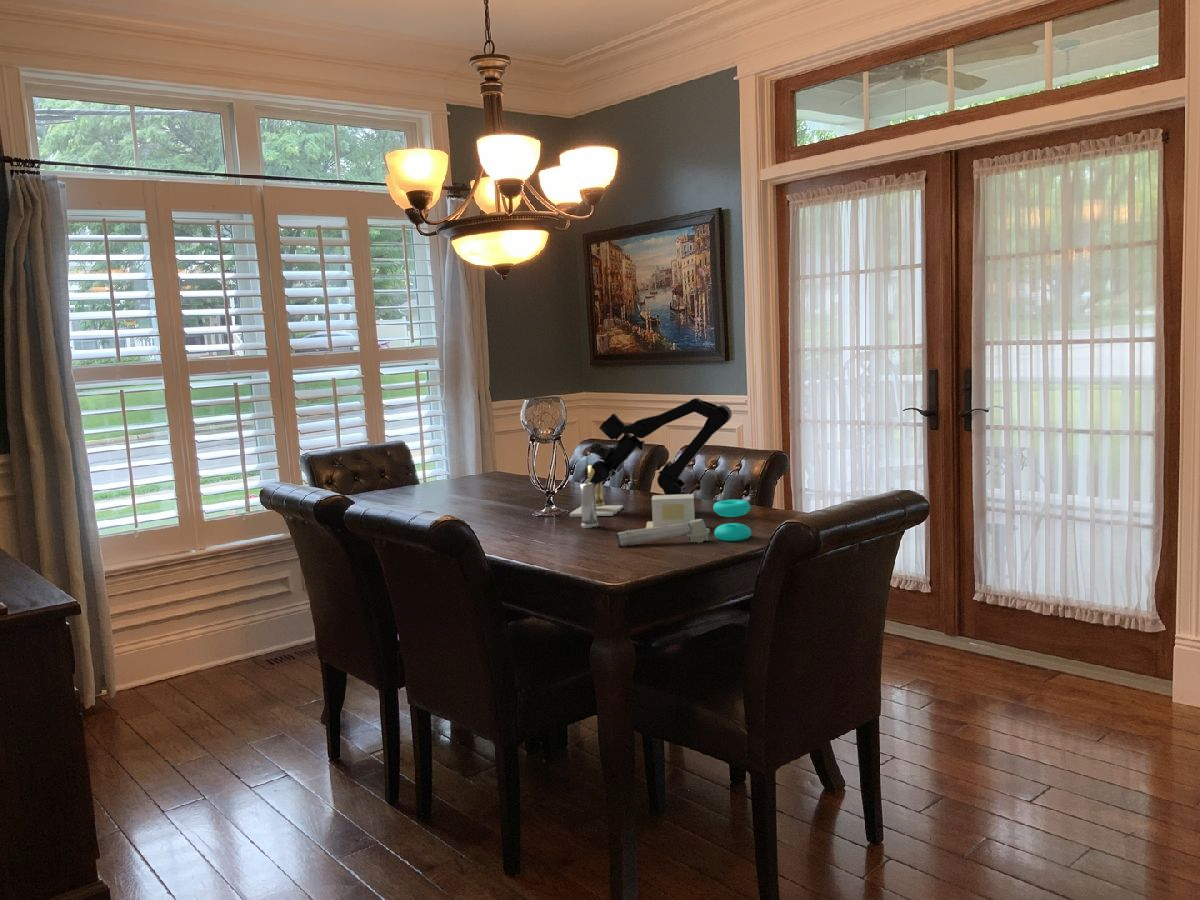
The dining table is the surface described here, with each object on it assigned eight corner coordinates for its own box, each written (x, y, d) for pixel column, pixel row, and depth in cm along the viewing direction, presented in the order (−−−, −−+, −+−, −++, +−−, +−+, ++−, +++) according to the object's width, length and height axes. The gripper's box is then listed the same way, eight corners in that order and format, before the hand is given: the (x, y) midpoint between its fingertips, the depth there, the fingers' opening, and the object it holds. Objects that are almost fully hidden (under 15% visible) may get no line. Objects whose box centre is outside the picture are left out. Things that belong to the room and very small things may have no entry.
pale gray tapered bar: (615, 530, 260) (705, 512, 260) (620, 554, 261) (709, 536, 261) (616, 534, 255) (707, 516, 255) (620, 558, 256) (712, 540, 256)
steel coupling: (602, 526, 286) (599, 483, 285) (589, 529, 283) (587, 485, 281) (590, 524, 290) (587, 481, 288) (577, 527, 286) (575, 484, 285)
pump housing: (647, 524, 285) (646, 493, 284) (701, 522, 283) (700, 491, 282) (645, 532, 273) (644, 500, 272) (702, 530, 272) (700, 498, 271)
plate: (623, 508, 313) (622, 505, 313) (612, 516, 300) (611, 513, 300) (582, 508, 317) (582, 505, 317) (569, 516, 303) (569, 513, 303)
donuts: (745, 505, 253) (708, 504, 256) (746, 542, 254) (710, 541, 258) (753, 498, 262) (718, 498, 266) (755, 534, 263) (720, 533, 267)
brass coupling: (606, 505, 306) (603, 465, 304) (590, 507, 305) (587, 467, 303) (602, 503, 311) (600, 463, 309) (587, 504, 310) (584, 465, 308)
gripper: (611, 429, 313) (581, 463, 317) (596, 436, 295) (564, 472, 299) (636, 453, 312) (605, 486, 316) (622, 461, 294) (590, 496, 298)
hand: (591, 485), depth 308 cm, fingers closed on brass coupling, 4 cm apart
